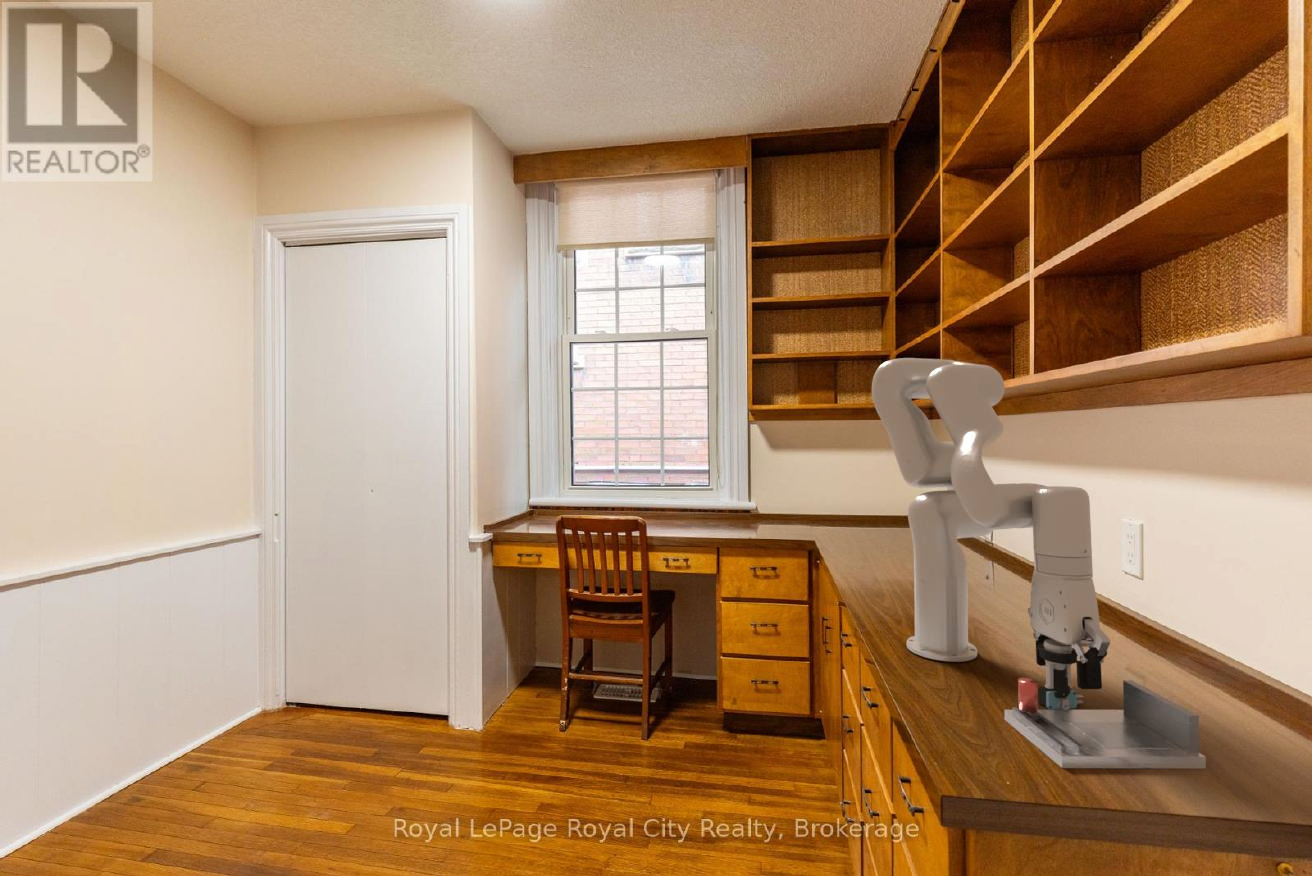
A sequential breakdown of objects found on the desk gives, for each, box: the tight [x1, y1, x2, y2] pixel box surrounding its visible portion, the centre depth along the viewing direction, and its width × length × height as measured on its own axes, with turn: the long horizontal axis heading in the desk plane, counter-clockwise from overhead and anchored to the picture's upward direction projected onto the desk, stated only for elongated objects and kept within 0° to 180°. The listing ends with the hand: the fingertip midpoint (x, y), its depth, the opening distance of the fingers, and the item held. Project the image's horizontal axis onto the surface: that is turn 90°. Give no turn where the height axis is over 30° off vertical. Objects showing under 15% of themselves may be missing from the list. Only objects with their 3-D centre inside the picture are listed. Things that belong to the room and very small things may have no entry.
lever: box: [1017, 677, 1039, 720], centre depth 86 cm, size 3×2×5 cm
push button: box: [1038, 639, 1084, 710], centre depth 93 cm, size 7×5×10 cm
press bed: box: [1004, 679, 1207, 770], centre depth 82 cm, size 13×18×6 cm
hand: (1067, 676), depth 92 cm, fingers open, 9 cm apart
